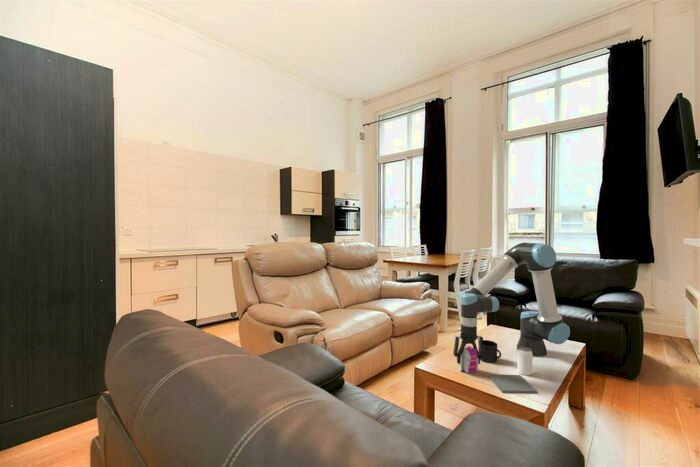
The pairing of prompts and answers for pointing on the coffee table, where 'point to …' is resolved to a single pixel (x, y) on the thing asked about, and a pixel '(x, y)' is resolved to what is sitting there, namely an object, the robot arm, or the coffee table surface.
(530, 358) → the can
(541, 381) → the coffee table surface
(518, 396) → the coffee table surface
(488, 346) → the mug
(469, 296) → the robot arm
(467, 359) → the supplement box
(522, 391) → the mat
